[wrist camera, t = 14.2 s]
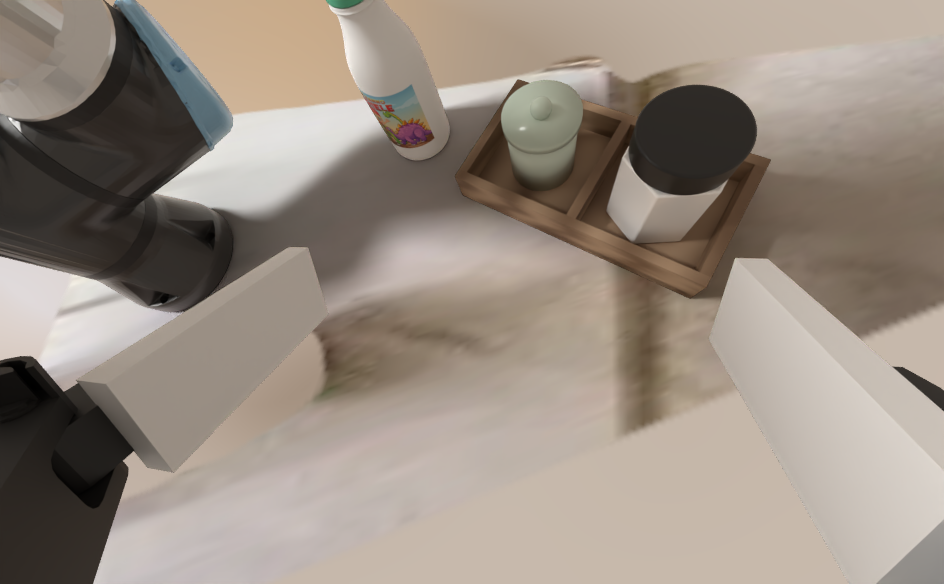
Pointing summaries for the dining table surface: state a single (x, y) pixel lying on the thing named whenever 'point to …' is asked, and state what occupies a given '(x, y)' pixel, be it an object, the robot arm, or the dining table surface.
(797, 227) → the dining table surface
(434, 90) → the milk bottle
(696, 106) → the jar
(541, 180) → the sugar pot
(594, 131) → the caddy
